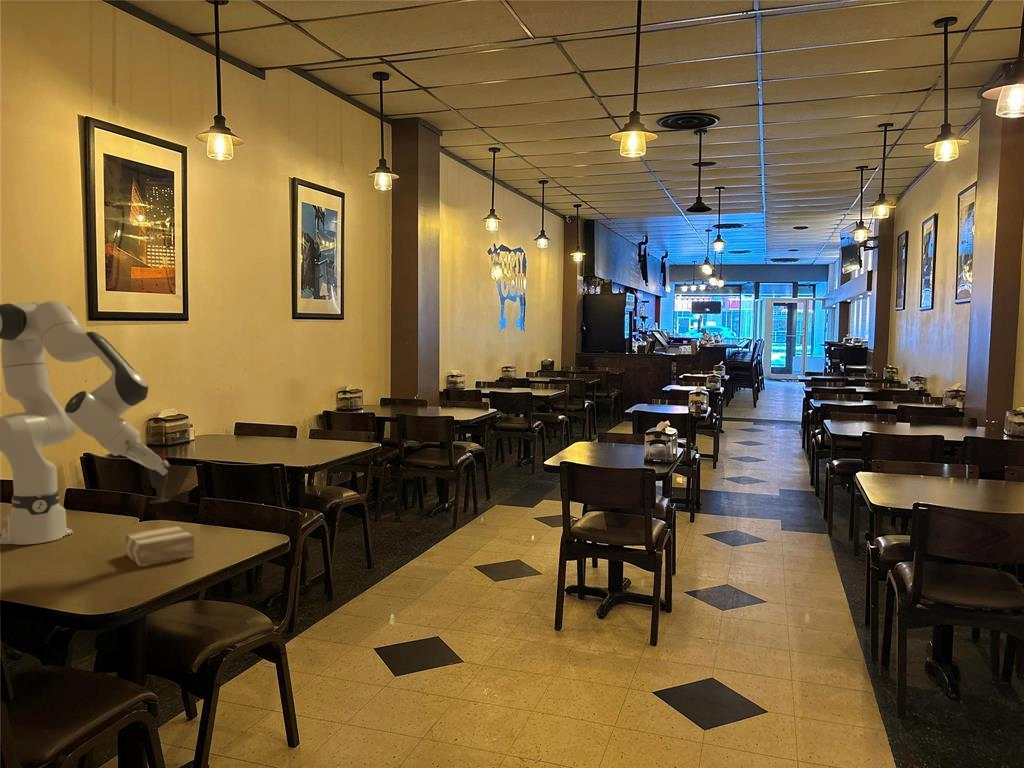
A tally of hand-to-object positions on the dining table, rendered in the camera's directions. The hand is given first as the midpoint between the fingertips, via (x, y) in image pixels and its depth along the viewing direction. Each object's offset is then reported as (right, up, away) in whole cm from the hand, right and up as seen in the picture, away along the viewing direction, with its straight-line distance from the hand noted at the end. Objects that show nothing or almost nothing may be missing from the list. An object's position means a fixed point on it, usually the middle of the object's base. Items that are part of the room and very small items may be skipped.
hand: (160, 471), depth 203 cm
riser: (-1, -24, +1) cm, 24 cm away
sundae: (0, -9, 0) cm, 9 cm away
